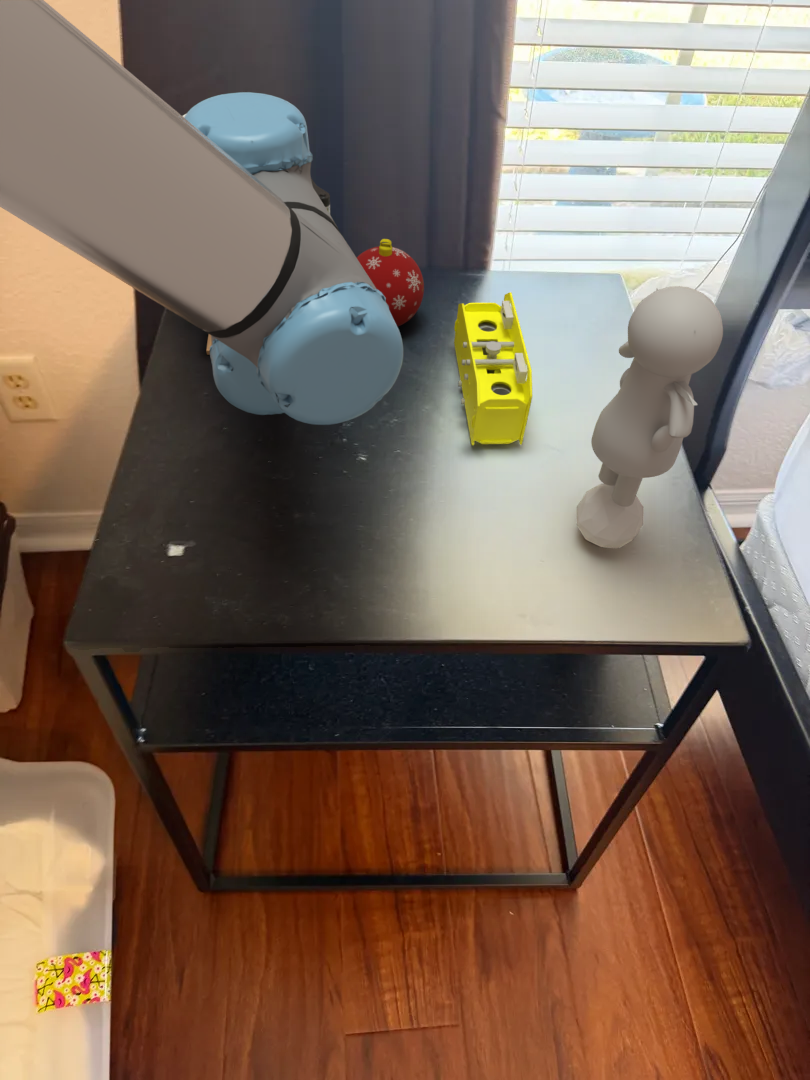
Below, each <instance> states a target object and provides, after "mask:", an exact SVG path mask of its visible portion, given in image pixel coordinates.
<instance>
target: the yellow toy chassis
mask: <svg viewBox="0 0 810 1080" xmlns="http://www.w3.org/2000/svg"><path fill="white" fill-rule="evenodd" d="M517 312H518V311H517V308H516V303H515V300H514V295H513V292H512V291H510V292H506V293H505V294H504V295H503V300H502V301H501V305H499V304H498V303H496V302H469V303H466V304H465V303H458V306H457V315H456V320H455V321H454V326H453V330H454V339H453V340H454V341H453V344H454V345H453V346H454V351H455V355H456V356H455V357H456V362H457V367H458V368H457V369H458V374H459V379H460V380H458V381H457V386H458V387H459V388H461V391H462V396H463V398H461V399H460V404H461V405H464V408H465V414H466V419H467V426H468V433H469V438H470V444H471V446H475V442H476V443H479V444H481V445H509V444H512V443H514V442H517V441H518V443H519V446H522V445H523V442H524V437H525V433H526V428H527V425H528V420H529V414H530V409H531V405H532V400H533V370H532V366H531V362H530V358H529V355H528V350H527V347H526V343H525V339H524V334H523V331H522V326H521V323H520V320H519V315H518V313H517Z"/></svg>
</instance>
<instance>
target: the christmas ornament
mask: <svg viewBox="0 0 810 1080" xmlns="http://www.w3.org/2000/svg"><path fill="white" fill-rule="evenodd" d="M392 243H393V242H392V240H390V239H388V238H382V239H381V240H380V241H379V245H378V246H374V247H370V248H367V249H366V250H364V251H363V252H362V253H360V254H359V255H358V256H356V258H357V259H358V261H359V262H360V264H361V266H362V267H363V269H364V270H365V272H366V273H367V275H368V276H369V278H370V280H371V281H372V283H373V284H374V286H375V287H376V289H377V290H379V291H380V292H381V293H382V294H383V295H384V296H385V298H386V303H387V304H388V306H389V310H390V313H391V315H392V317H393V319H394V321H395V323H396V325H397V327H398V328H399V327H400V326H403V325H404V324H406V323H407V322H409V321H410V320H411V319H412V318H414V316H415V315H416V313H418V310H419V309H420V307H421V305H422V302H423V299H424V293H425V283H424V282H425V281H424V277H423V274H422V271H421V269H420V266H419V265H418V264H417V262H416V261H415V260H414V258H413V257H412V256H410V255H409V254H408V253H407V252H406V251H404V250H402V249H400V248H397V247H394V246H393V245H392Z"/></svg>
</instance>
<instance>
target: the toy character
mask: <svg viewBox="0 0 810 1080" xmlns="http://www.w3.org/2000/svg"><path fill="white" fill-rule="evenodd" d="M723 327H724V325H723V320H722V315H721V312H720V310H719V309H718V307H717V306H716V304H715V303H714V301H712V299H711V298H709V296H707V295H706V294H705V293H703V292H701V291H700V290H698V289H695V288H691V287H688V286H682V285H681V286H680V285H674V286H673V285H672V286H666V287H663V288H660V289H658V288H656V290H654V291H653V292H651V293H650V294H649V295H647V296H646V297H644V298H642V299H641V301H640V302H639V303H638V304H637V305H636V307H635V308H634V311H633V312H632V314H631V315H630V318H629V321H628V325H627V340H626V341H625V342H624V343H623V344H622V345H620V347H619V348H618V354H619V355H620V356H621V357H623V358H625V359H632V361H631V363H630V366H629V368H627V369H625V371H624V372H623V373H622V375H621V377H620V379H619V390H618V392H617V393H616V394H615V396H613V398H612V399H611V400H610V401H609V402H608V403H607V404H606V405H605V406H604V407H603V409H602V410H601V412H600V414H599V416H598V418H597V420H596V423H595V426H594V429H593V432H592V435H591V442H590V443H591V448H592V451H593V453H594V455H595V456H596V458H597V459H598V461H600V462H601V466H600V470H599V472H598V479H599V481H600V482H601V483H600V484H597V485H596V486H594V487H592V488H591V489H588V490H587V491H586V492H585V493H584V494H583V497H582V498H581V500H580V501H579V503H578V504H577V505H576V526H577V527H578V529H579V531H580V533H581V534H582V537H583V538H584V540H586V541H588V542H590V543H591V544H594V545H596V546H598V547H599V548H605V549H606V548H607V549H620V548H623V546H625V545H627V544H628V543H631V542H632V541H634V540H635V538H636V537H637V535H638V533H639V532H640V530H641V529H642V527H643V526H644V511H645V510H644V505H643V504H642V502H641V500H640V499H639V497H638V496H637V495H638V492H639V489H640V486H641V484H642V481H643V479H647V478H654V477H655V478H656V477H659V476H661V475H664V474H665V473H667V472H668V471H670V470H671V469H672V468H673V466H674V465H675V463H676V461H677V458H678V456H679V454H680V451H681V449H682V444H683V441H684V438H687V437H689V435H691V433H692V430H693V425H694V415H695V406H698V405H699V404H698V403H697V402H696V401H695V398H694V397H695V396H694V393H693V389H692V387H690V382H691V378H692V375H693V374H695V373H697V372H699V371H701V370H702V369H703V368H704V367H706V366H707V365H708V364H709V363H711V362H712V360H713V359H714V358H715V356H716V355H717V353H718V351H719V349H720V346H721V344H722V340H723V337H724V328H723Z"/></svg>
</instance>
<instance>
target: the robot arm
mask: <svg viewBox="0 0 810 1080" xmlns="http://www.w3.org/2000/svg"><path fill="white" fill-rule="evenodd" d="M185 114H186V115H185ZM185 114H184V115H185V117H183V115H181V113H179V112H178V111H177V110H176V109H174V108H173V107H172V106H171V105H170V104H168V103H167V102H166V101H165V100H163V99H162V98H161V97H160V96H159V95H158V94H156V93H155V92H154V91H153V90H152V89H151V88H149V87H148V86H147V85H145V83H143V82H142V81H141V80H139V78H137V77H136V76H135V75H134V74H133V73H132V72H130V71H129V70H128V69H127V68H125V66H123V65H122V64H120V63H119V61H117V60H116V59H114V58H113V57H112V56H111V55H110V54H108V53H107V51H105V50H104V49H103V48H101V47H100V46H99V45H98V44H97V43H95V42H94V41H93V40H92V39H91V38H90V37H88V36H87V35H86V34H85V33H84V32H82V31H81V29H79V28H77V26H75V25H74V24H73V23H72V22H70V21H69V19H67V18H66V17H64V16H63V15H62V14H61V13H60V12H58V11H57V10H56V8H53V7H52V5H50V4H49V3H48V2H46V1H45V0H0V208H1V209H3V210H5V211H6V212H8V213H10V215H11V214H12V215H13V216H15V218H18V219H20V220H21V221H23V222H24V223H26V224H27V225H29V226H30V227H33V228H34V229H36V230H37V231H39V232H40V233H42V234H43V235H46V236H47V237H49V238H50V239H52V240H54V241H56V242H57V243H59V244H60V245H62V246H63V247H65V248H67V249H69V250H70V251H72V252H74V253H75V254H77V255H78V256H80V257H82V258H83V259H85V260H86V261H88V262H90V263H91V264H94V265H95V266H96V267H98V268H100V269H101V270H103V271H104V272H107V273H108V274H109V275H111V276H112V277H115V278H116V279H118V280H119V281H121V282H123V283H124V284H126V285H127V286H129V287H132V288H133V289H134V290H136V291H137V292H139V293H141V294H142V295H144V296H146V297H147V298H149V299H151V300H152V301H154V302H155V303H157V304H159V305H161V306H162V307H163V308H165V309H167V310H169V311H170V312H172V313H174V314H175V315H177V316H179V317H180V318H181V319H183V320H185V321H187V322H189V323H190V324H192V325H194V326H195V327H197V328H198V329H200V330H201V331H203V332H205V333H207V334H208V335H209V334H210V335H211V340H212V346H210V355H209V358H210V363H211V366H212V376H213V380H214V384H215V386H216V388H217V390H218V392H219V393H220V395H221V396H222V397H223V398H224V399H225V400H226V401H227V402H228V403H229V404H230V405H232V406H234V407H236V408H237V409H239V410H240V411H243V412H246V413H249V414H251V415H252V414H253V415H259V416H265V415H266V416H267V415H271V416H272V415H273V416H274V415H283V414H285V415H287V416H288V417H290V418H292V419H294V420H295V421H297V422H301V423H303V424H308V425H316V426H330V425H336V424H341V423H345V422H349V421H351V420H354V419H356V418H358V417H360V416H362V415H363V414H365V413H367V412H368V411H370V410H371V409H373V408H374V407H375V406H376V404H377V403H379V402H381V401H382V399H383V398H384V396H385V395H387V394H388V393H389V392H390V390H391V389H392V388H393V386H394V385H395V383H396V382H397V379H398V378H399V375H400V372H401V369H402V366H403V361H404V344H403V338H402V335H401V332H400V329H399V326H398V327H397V325H396V323H395V321H394V319H393V317H392V315H391V313H390V310H389V306H388V304H387V303H386V298H385V296H384V295H383V294H382V293H381V292H380V291H379V290H377V289H376V287H375V286H374V284H373V283H372V281H371V280H370V278H369V276H368V275H367V273H366V272H365V270H364V269H363V267H362V266H361V264H360V262H359V261H358V259H357V256H356V255H355V253H354V251H353V250H352V248H351V247H350V245H349V244H348V242H347V240H345V238H344V235H343V234H342V232H341V231H340V229H339V227H338V225H337V224H336V222H335V220H334V219H333V217H332V216H331V194H330V193H329V192H328V191H326V190H325V189H323V188H321V187H320V186H318V185H317V184H316V183H315V181H314V180H313V178H312V177H311V176H312V175H311V167H312V161H313V160H314V159H313V157H314V156H313V153H312V152H311V150H310V144H309V143H310V141H309V135H308V126H307V122H306V119H305V117H304V115H303V113H302V112H301V111H300V109H298V108H297V107H296V105H294V104H292V103H290V102H289V101H287V100H286V99H283V98H281V97H278V96H275V95H271V94H267V93H260V92H250V91H247V92H245V91H244V92H243V91H241V92H240V91H239V92H230V93H223V94H218V95H214V96H211V97H208V98H206V99H203V100H201V101H200V102H198V103H197V104H195V105H193V106H192V107H191V108H190V109H189V110H188V111H187V112H186V113H185Z"/></svg>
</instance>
